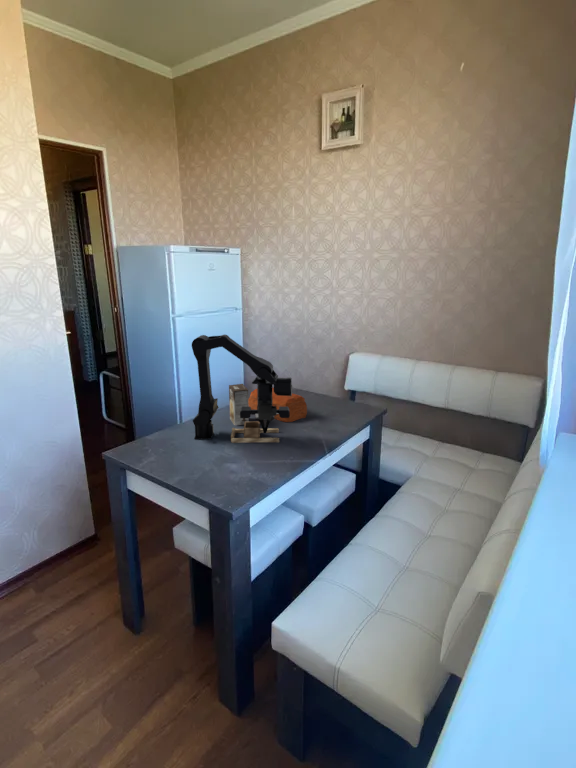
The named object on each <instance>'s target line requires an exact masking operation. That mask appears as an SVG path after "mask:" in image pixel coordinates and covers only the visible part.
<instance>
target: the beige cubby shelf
mask: <svg viewBox="0 0 576 768" xmlns="http://www.w3.org/2000/svg"><path fill="white" fill-rule="evenodd" d="M279 431H280V430H279V428H276V427H275V428H269V427H268V429H267V432H266V433H264V432H263V429H262V428H260V434H272V433H273V434H274V433H277V434H279ZM236 434H244V428H236V427H232V428H231V433H230V442H231V443H233V444H238V443H239V444H240V443H244V444H245V443H248V444H249V443H251V444H252V443H280V437H260V438H244V437H235V436H236Z"/></svg>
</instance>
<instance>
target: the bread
mask: <svg viewBox="0 0 576 768" xmlns="http://www.w3.org/2000/svg"><path fill="white" fill-rule="evenodd" d="M272 406H276V408H277V409H279V407H289V411H290V417H289V418H281V417H280V416H279V414H276V416H274V418H275V419H274V420H277V421H280V422H283V423H292V422H294V421H298V420H301V419H305V418H306V417H307V414H308V405H307V403H306V400H305V398H304V397H303V396H302V395H299V394H296V393H293V392H292V396H278V395H277V394H275V393H274V386H272ZM248 407H251V410H257V388H255V389H253V391H251V392H250V395H249V396H248Z"/></svg>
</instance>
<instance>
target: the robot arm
mask: <svg viewBox="0 0 576 768" xmlns="http://www.w3.org/2000/svg"><path fill="white" fill-rule="evenodd" d="M218 348H223V349H225V350H226V351H228V352H229V353H230V354H232V356H235V357H236V358H237V359H239V360H240V361H242V362H243V363H244V364H246V365H247V366H248V367H249V368H250V370H251V371H252V372H253V374H255V375H256V377H255V378H254V379H253V380H252V382H251V384H252V385H256V389H257V410H251V407H249V406H248V407H242V408H241V410H240V418H250V417H251V416H253V415H254V416H255V417H254V418H255V420H256V421H257V422H260V427H261V429H263V432H264V433H263V434H267V433H266V432H267V429H268V428H269V426H270V424H271V422H272V421H274V420H276V419H275V418H274V416H276V414H279V416H280V417H281V418H289V417H290V411H289V407H279V409H277V408H276V406H272V387H273V388H274V393H275V394H277V395H278V396H292V393H293V382H292V377H279V375H278V374H277V373H276V371H275V370H274V366H273V364H272V362H271V361H269V360H267V359H265V358H262V357H260V356H257V355H254V354H253V353H252V352H250V351H249V350H247V349H246V348H245V347H243V346H242V345H240V343H238V342H236V341H235V340H233V339H232V338H231V337H230V336H229V335H227V334H221V335H212V336H207V335H205V334H202V335H201V334H200V336H197V337H196V338H194V339H193V340H192V342H191V349H192V353H193V356H194V358H195V359H196V362H197V372H198V373H197V374H198V383H199V384H198V385H199V392H200V393H199V395H200V398H199V405H198V409H197V410H198V411H197V414H196V415H195V417H194V418H193V419H192V422H193V424H194V440H211V439H212V438H213V436H214V433H215V430H214V427H215V426H214V423H213V420H212V419H213V417H214V416H215V415H216V413H217V411H218V409H219V405H218V400H219V399H218V398H214V396H213V391H212V379H211V378H212V377H211V367H210V365H211V364H210V356H211V352H212V349H218Z"/></svg>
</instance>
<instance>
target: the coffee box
mask: <svg viewBox="0 0 576 768" xmlns="http://www.w3.org/2000/svg"><path fill="white" fill-rule="evenodd" d="M228 398H229V399H228V400H229V420H230V421H231V423H232V424H233V425H234V427H236V426H244V422H250V421H249V418H250V417H249V418H240V410H241V408H242V407H249V404H248V399H249V389H248V388H247V387H246V385H245V384H244V383H237V384H229V385H228Z"/></svg>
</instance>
